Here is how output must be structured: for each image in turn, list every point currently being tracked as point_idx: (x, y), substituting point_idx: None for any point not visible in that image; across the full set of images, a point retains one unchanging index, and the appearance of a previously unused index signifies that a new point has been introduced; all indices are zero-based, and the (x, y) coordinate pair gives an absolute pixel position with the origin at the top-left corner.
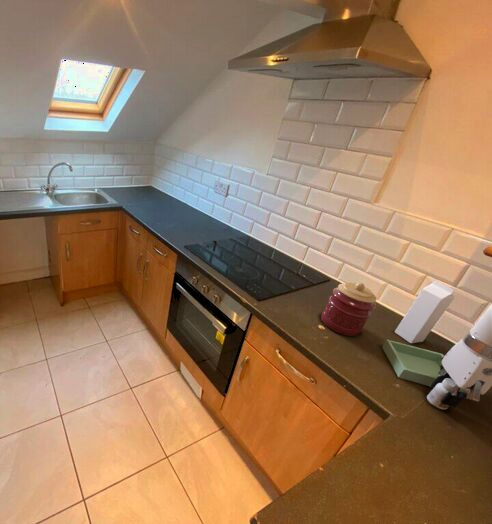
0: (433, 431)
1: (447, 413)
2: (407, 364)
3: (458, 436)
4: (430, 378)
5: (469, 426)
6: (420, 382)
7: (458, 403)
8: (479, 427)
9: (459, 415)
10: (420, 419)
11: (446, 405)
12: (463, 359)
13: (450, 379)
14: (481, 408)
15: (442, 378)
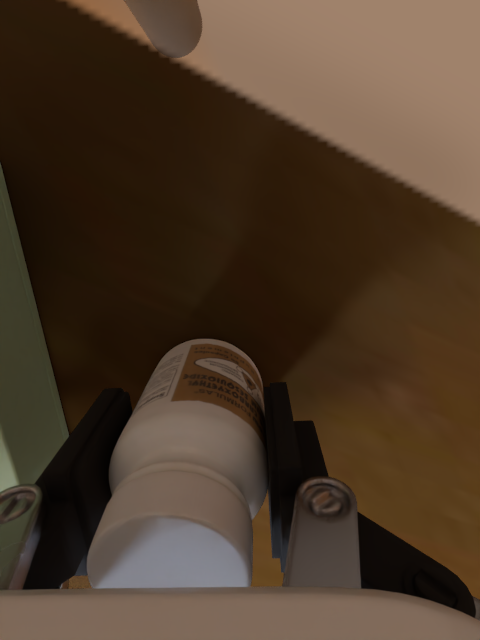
0: (461, 483)
1: (279, 355)
2: None
3: (458, 370)
4: (18, 436)
5: (343, 260)
6: (61, 428)
7: (289, 408)
8: (324, 187)
9: (260, 282)
10: (396, 513)
11: (261, 398)
12: None
13: (105, 579)
14: (72, 43)
15: (85, 556)
